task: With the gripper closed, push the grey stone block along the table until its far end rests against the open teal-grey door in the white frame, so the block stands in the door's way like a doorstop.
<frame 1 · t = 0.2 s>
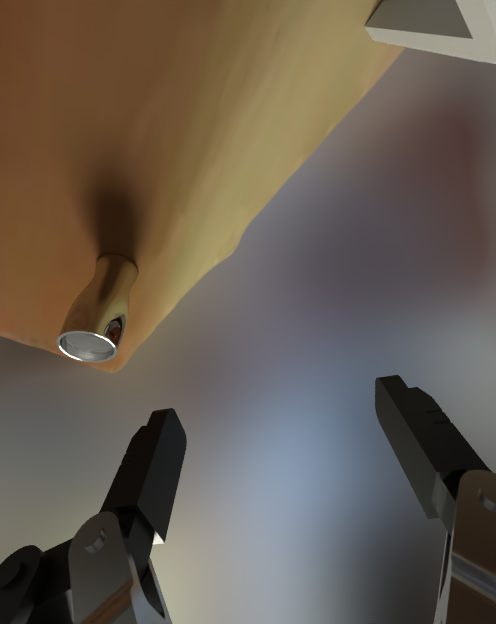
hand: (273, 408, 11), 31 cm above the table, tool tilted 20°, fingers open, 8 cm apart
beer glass: (118, 268, 43), on the table
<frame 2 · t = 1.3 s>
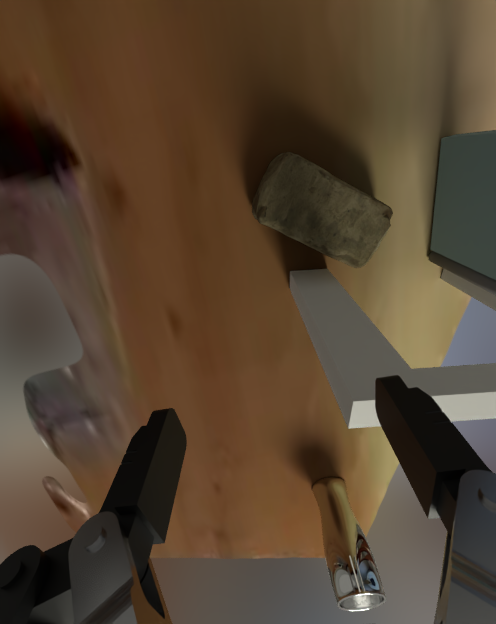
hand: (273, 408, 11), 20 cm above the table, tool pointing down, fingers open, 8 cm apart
door frame: (381, 273, 30), on the table
stone block: (312, 207, 27), on the table
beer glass: (328, 485, 50), on the table
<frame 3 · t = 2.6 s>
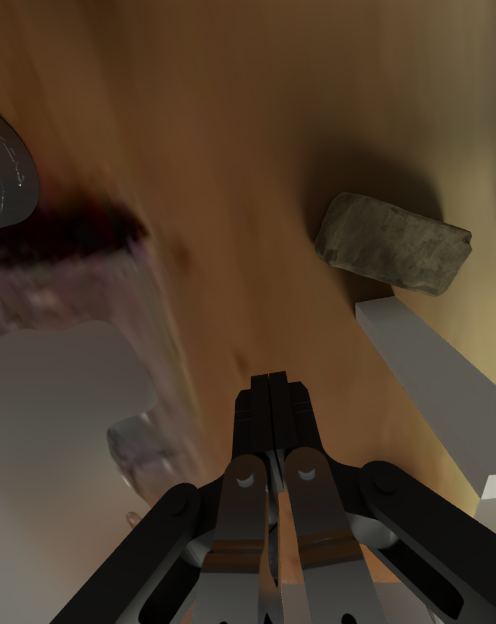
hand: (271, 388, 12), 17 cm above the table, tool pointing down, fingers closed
door frame: (455, 293, 28), on the table
stone block: (375, 236, 26), on the table
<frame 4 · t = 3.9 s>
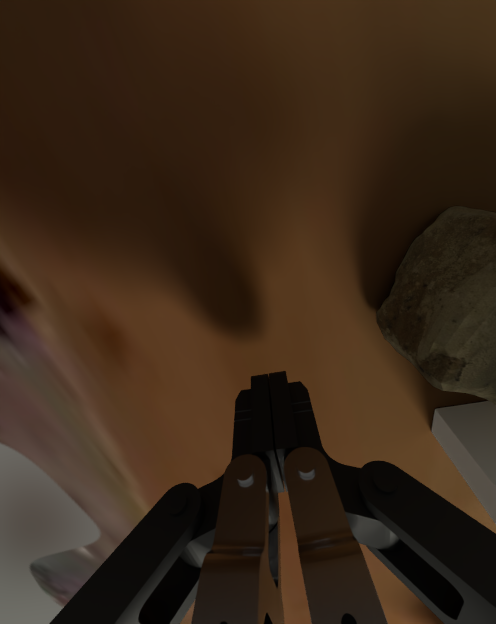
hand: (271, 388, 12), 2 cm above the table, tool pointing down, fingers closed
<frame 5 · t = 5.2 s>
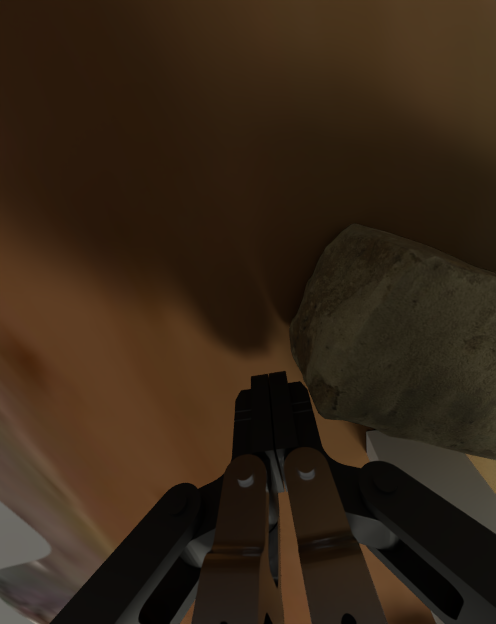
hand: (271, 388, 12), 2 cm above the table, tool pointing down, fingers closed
stone block: (418, 313, 12), on the table, touching gripper
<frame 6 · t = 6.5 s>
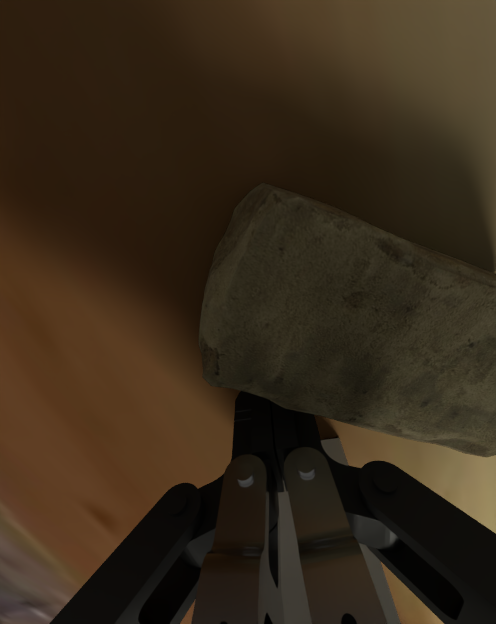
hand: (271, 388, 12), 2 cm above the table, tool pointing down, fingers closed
door frame: (447, 435, 15), on the table
stone block: (346, 289, 12), on the table
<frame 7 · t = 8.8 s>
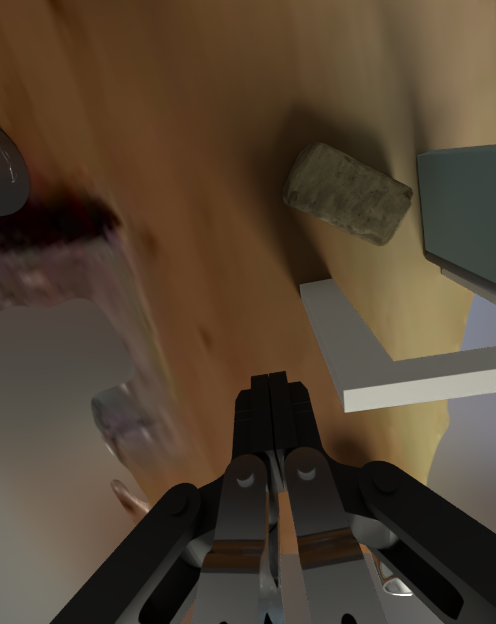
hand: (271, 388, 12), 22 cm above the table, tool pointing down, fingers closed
door frame: (383, 276, 33), on the table
stone block: (336, 193, 29), on the table
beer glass: (366, 478, 52), on the table
door: (475, 223, 23), point 7 cm above the table, hinge at 80.0°
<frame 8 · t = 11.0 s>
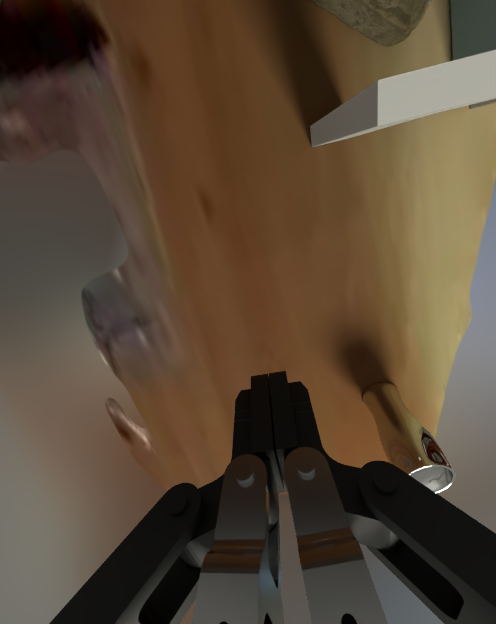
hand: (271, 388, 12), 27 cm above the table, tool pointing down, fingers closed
door frame: (404, 114, 29), on the table
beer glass: (379, 394, 48), on the table
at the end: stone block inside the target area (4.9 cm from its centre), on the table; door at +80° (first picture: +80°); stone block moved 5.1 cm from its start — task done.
